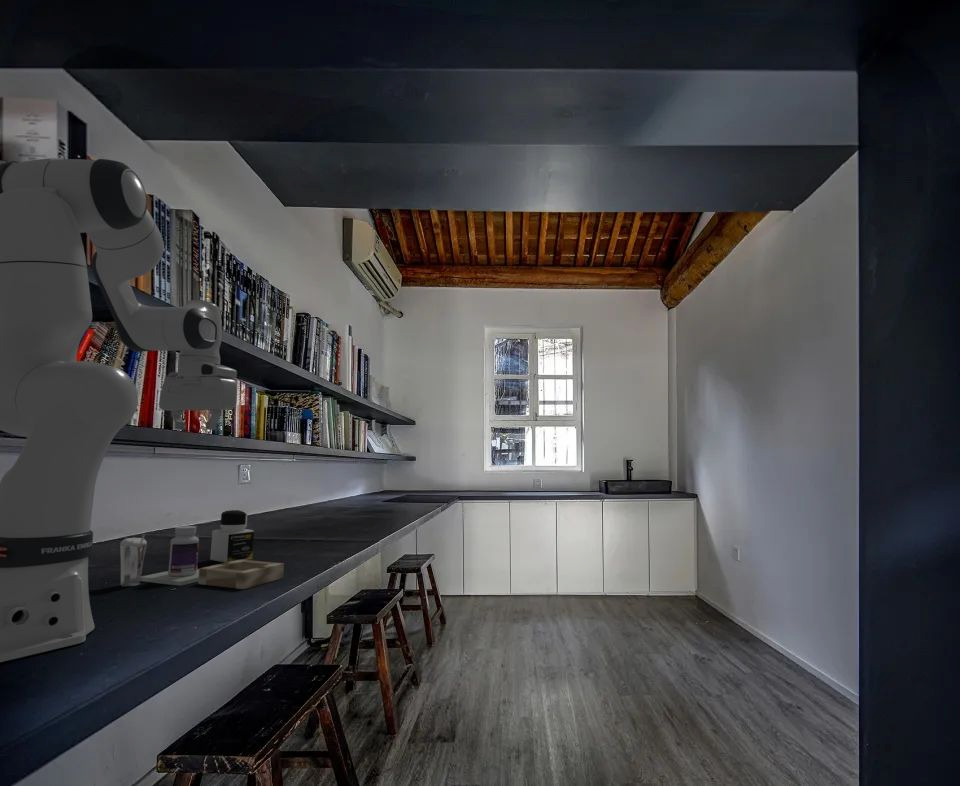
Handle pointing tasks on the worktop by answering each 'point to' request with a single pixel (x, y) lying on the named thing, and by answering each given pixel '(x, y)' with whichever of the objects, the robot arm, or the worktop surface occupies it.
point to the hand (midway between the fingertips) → (195, 429)
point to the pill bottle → (183, 552)
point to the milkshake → (132, 560)
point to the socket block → (241, 574)
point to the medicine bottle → (232, 538)
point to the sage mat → (171, 578)
